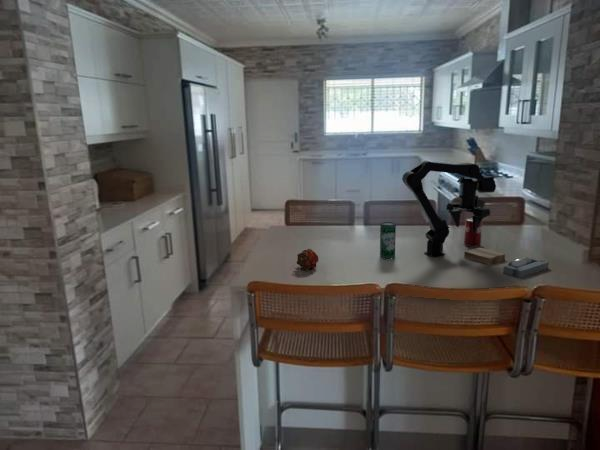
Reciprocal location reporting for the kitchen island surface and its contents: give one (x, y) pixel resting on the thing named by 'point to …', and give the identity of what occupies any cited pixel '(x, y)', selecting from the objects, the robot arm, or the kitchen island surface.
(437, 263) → the kitchen island surface
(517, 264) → the roller
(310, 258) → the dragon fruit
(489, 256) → the slab
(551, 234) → the kitchen island surface
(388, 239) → the can
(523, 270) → the stop cradle
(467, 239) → the soda can
